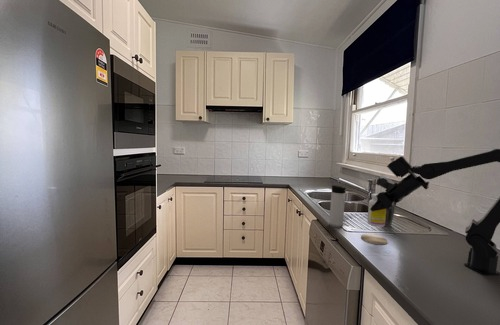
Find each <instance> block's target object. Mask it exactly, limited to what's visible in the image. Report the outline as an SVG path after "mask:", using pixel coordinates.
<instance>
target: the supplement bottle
mask: <svg viewBox="0 0 500 325" xmlns="http://www.w3.org/2000/svg"><path fill="white" fill-rule="evenodd" d="M378 194H379V193H372V194H371V199H369V201H368V208H367V210H368V212H367V224H368V225H369V226H372V227H376V228H383V227H386V226H385V219H386V209H381V210H376V211H371V210H370V209H371V207H372V206H373V205H374V204H375V203H376V202H377V196H376V195H378Z"/></svg>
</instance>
